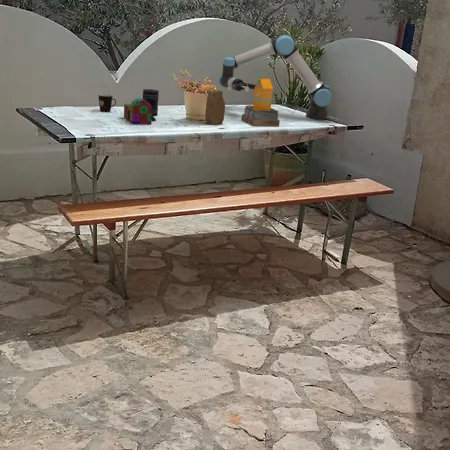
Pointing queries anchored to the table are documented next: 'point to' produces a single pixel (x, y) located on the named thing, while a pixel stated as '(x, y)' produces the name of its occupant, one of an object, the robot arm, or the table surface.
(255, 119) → the grey square tray
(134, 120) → the multicoloured round-topped piece
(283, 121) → the table surface
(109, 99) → the coffee mug
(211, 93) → the block
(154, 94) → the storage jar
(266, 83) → the orange juice
